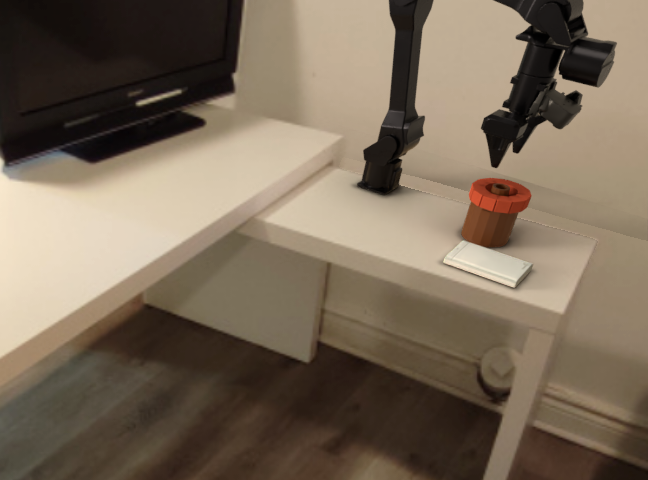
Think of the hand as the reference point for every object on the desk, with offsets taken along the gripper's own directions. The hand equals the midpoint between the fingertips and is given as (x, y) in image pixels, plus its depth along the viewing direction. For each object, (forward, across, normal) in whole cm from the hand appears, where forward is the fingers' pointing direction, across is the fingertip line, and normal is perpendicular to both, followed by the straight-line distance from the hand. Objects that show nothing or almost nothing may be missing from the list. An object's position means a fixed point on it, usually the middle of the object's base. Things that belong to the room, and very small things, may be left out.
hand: (505, 160), depth 143 cm
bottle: (+13, -5, -3) cm, 14 cm away
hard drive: (+13, -16, -8) cm, 22 cm away
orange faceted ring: (+6, -4, -2) cm, 8 cm away
